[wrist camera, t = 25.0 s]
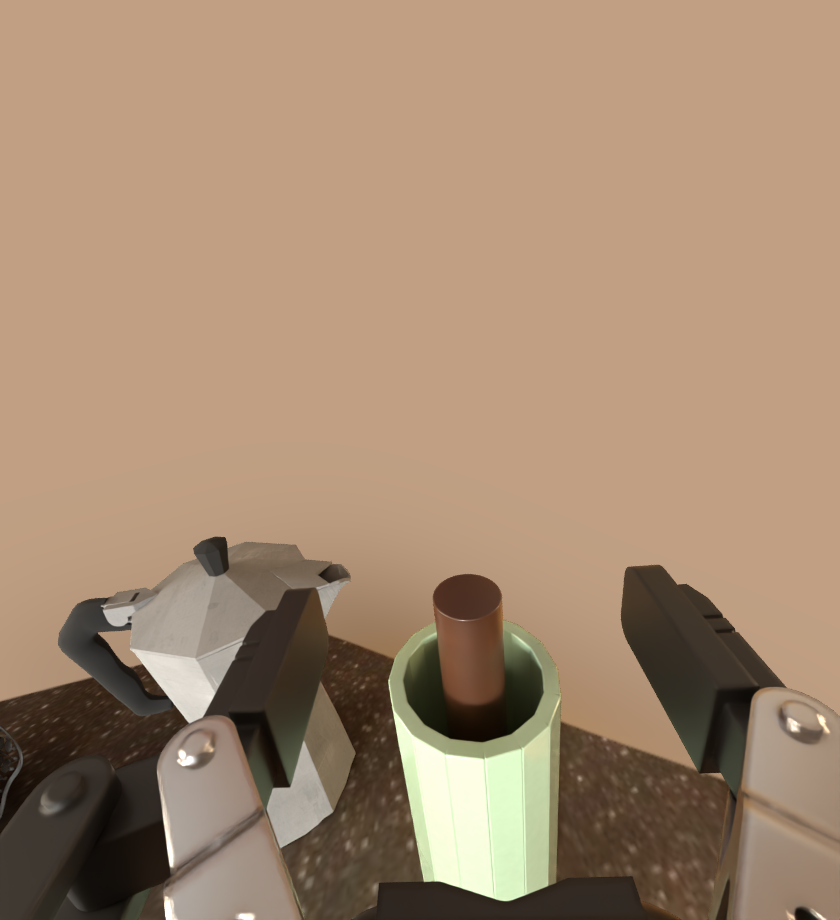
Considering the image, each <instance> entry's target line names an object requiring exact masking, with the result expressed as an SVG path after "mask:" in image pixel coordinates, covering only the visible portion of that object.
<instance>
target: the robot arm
mask: <svg viewBox="0 0 840 920" xmlns="http://www.w3.org/2000/svg"><path fill="white" fill-rule="evenodd" d="M621 622H622V628H623V631H624V635H625V637H626V640H627V642H628V644H629V645H630V647H631V649H632V651H633V652H634V655H635V656H636V658H637V660H638V662H639V664H640V666H641V667H642V669H643V671H644V673H645V675H646V677H647V678H648V680H649V682H650V684H651V686H652V688H653V689H654V691H655V693H656V695H657V697H658V698H659V700H660V702H661V704H662V706H663V708H664V710H665V711H666V713H667V715H668V717H669V719H670V721H671V722H672V724H673V726H674V728H675V730H676V731H677V733H678V735H679V737H680V739H681V741H682V743H683V744H684V746H685V748H686V750H687V751H688V753H689V755H690V757H691V759H692V761H693V763H694V764H695V766H696V768H697V770H698V772H699V773H721V774H722V776H723V777H724V779H725V781H726V782H727V784H728V786H729V789H728V793H727V797H726V805H725V812H724V819H723V826H722V833H721V840H720V848H719V855H718V862H717V869H716V876H715V883H714V890H713V896H712V901H711V906H710V911H709V916H708V920H840V716H839V715H838V714H836V713H835V712H834V711H833V710H832V709H830V708H829V707H828V706H826V705H825V704H823V703H822V702H820V701H818V700H817V699H815V698H812V697H810V696H809V695H806V694H804V693H802V692H799V691H796V690H792V689H788V688H786V686H785V685H784V684H783V683H782V682H781V681H780V680H779V679H778V677H777V676H776V675H775V674H774V673H773V672H772V670H771V669H770V668H769V667H768V666H767V665H766V664H765V662H764V661H763V660H762V659H761V658H760V657H759V656H758V655H757V653H756V652H755V651H754V650H753V649H752V648H751V646H749V644H748V643H747V642H746V641H745V640H744V638H743V637H742V636H741V635H740V634H739V633H738V632H735V628H734V627H733V626H732V625H731V624H730V623H729V621H728V620H727V619H726V618H723V615H722V613H721V612H720V611H719V610H718V609H717V608H716V607H715V605H714V604H713V603H712V602H711V601H710V600H709V599H708V598H707V597H706V596H704V595H703V594H701V593H699V592H698V591H696V590H695V589H693V588H692V587H690V586H689V585H687V584H681V585H677V584H676V582H675V581H674V580H673V579H672V578H671V576H670V575H669V574H668V573H667V571H666V570H665V569H664V568H663V567H662V566H660V565H649V566H633V567H627V569H626V571H625V577H624V588H623V598H622V608H621ZM327 654H328V631H327V626H326V623H325V618H324V614H323V609H322V605H321V601H320V597H319V593H318V590H317V589H316V588H315V587H311V588H297V589H287V590H286V591H285V592H284V594H283V596H282V598H281V600H280V602H279V605H278V607H277V609H276V610H266V611H265V612H264V613H263V614H262V615H261V616H260V617H259V618H258V619H257V620H256V621H255V622H254V623H253V624H252V625H251V627H250V629H249V631H248V632H247V634H246V636H245V638H244V640H243V642H242V646H240V648H239V650H238V651H237V653H236V655H235V660H233V661H232V663H231V665H230V667H229V669H228V670H227V672H226V674H225V676H224V678H223V680H222V682H221V684H220V686H219V688H218V689H217V691H216V693H215V695H214V697H213V699H212V701H211V703H210V705H209V707H208V708H207V710H206V712H205V714H204V716H203V718H200V719H197V720H195V721H193V722H191V723H190V724H188V725H187V726H185V727H184V728H183V729H181V730H180V731H179V732H178V733H177V734H176V735H174V736H173V738H172V739H171V740H170V741H169V742H168V743H167V745H166V746H165V748H164V749H163V751H162V753H160V754H157V755H155V756H152V757H149V758H146V759H143V760H140V761H138V762H135V763H132V764H129V765H126V766H123V767H121V768H118V769H115V770H114V769H113V767H112V765H111V763H110V762H109V760H108V759H107V758H106V757H104V756H102V755H87V756H83V757H80V758H77V759H75V760H73V761H70V762H69V763H67V764H65V765H63V766H61V767H60V768H58V769H57V770H55V771H54V772H53V773H51V774H50V775H49V776H47V777H46V778H45V779H44V780H43V781H42V782H41V783H40V784H39V785H38V786H37V787H36V788H35V789H34V790H33V791H32V792H31V793H30V795H29V796H28V797H27V798H26V800H25V801H24V803H23V804H22V805H21V807H20V808H19V809H18V811H17V812H16V813H15V815H14V816H13V818H12V819H11V820H10V822H9V823H8V824H7V826H6V827H5V828H4V830H3V831H2V833H1V834H0V920H138V919H139V916H140V914H141V912H142V909H143V907H144V904H145V902H146V900H147V897H148V895H149V892H150V890H151V888H152V887H154V886H156V885H159V884H161V883H163V882H164V904H165V912H166V920H306V919H305V916H304V913H303V910H302V908H301V905H300V902H299V899H298V896H297V894H296V891H295V888H294V885H293V882H292V879H291V877H290V874H289V871H288V868H287V865H286V862H285V860H284V857H283V854H282V851H281V848H280V845H279V843H278V840H277V837H276V834H275V831H274V828H273V825H272V823H271V820H270V817H269V814H268V811H267V806H268V802H269V799H270V796H271V793H272V790H273V788H290V787H291V784H292V780H293V777H294V773H295V769H296V766H297V762H298V759H299V755H300V752H301V748H302V744H303V741H304V737H305V734H306V730H307V726H308V723H309V719H310V716H311V712H312V709H313V705H314V701H315V698H316V694H317V691H318V687H319V684H320V680H321V676H322V673H323V669H324V666H325V662H326V658H327ZM351 920H681V919H680V918H678V917H676V916H674V915H673V914H671V913H669V912H668V911H665V910H663V909H661V908H659V907H656V906H654V905H652V904H650V903H646V902H643V901H640V898H639V895H638V892H637V889H636V886H635V883H634V880H633V877H632V876H629V877H590V878H567V879H565V880H562V881H560V882H557V883H555V884H552V885H549V886H547V887H544V888H542V889H539V890H537V891H534V892H532V893H529V894H526V895H524V896H521V897H519V898H516V899H514V900H510V901H501V900H497V899H494V898H491V897H488V896H484V895H481V894H478V893H475V892H472V891H469V890H466V889H462V888H459V887H456V886H453V885H450V884H447V883H443V882H440V881H432V882H392V883H379V890H378V902H377V906H376V907H373V908H371V909H368V910H366V911H364V912H363V913H361V914H359V915H357V916H356V917H354V918H352V919H351Z"/></svg>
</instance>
